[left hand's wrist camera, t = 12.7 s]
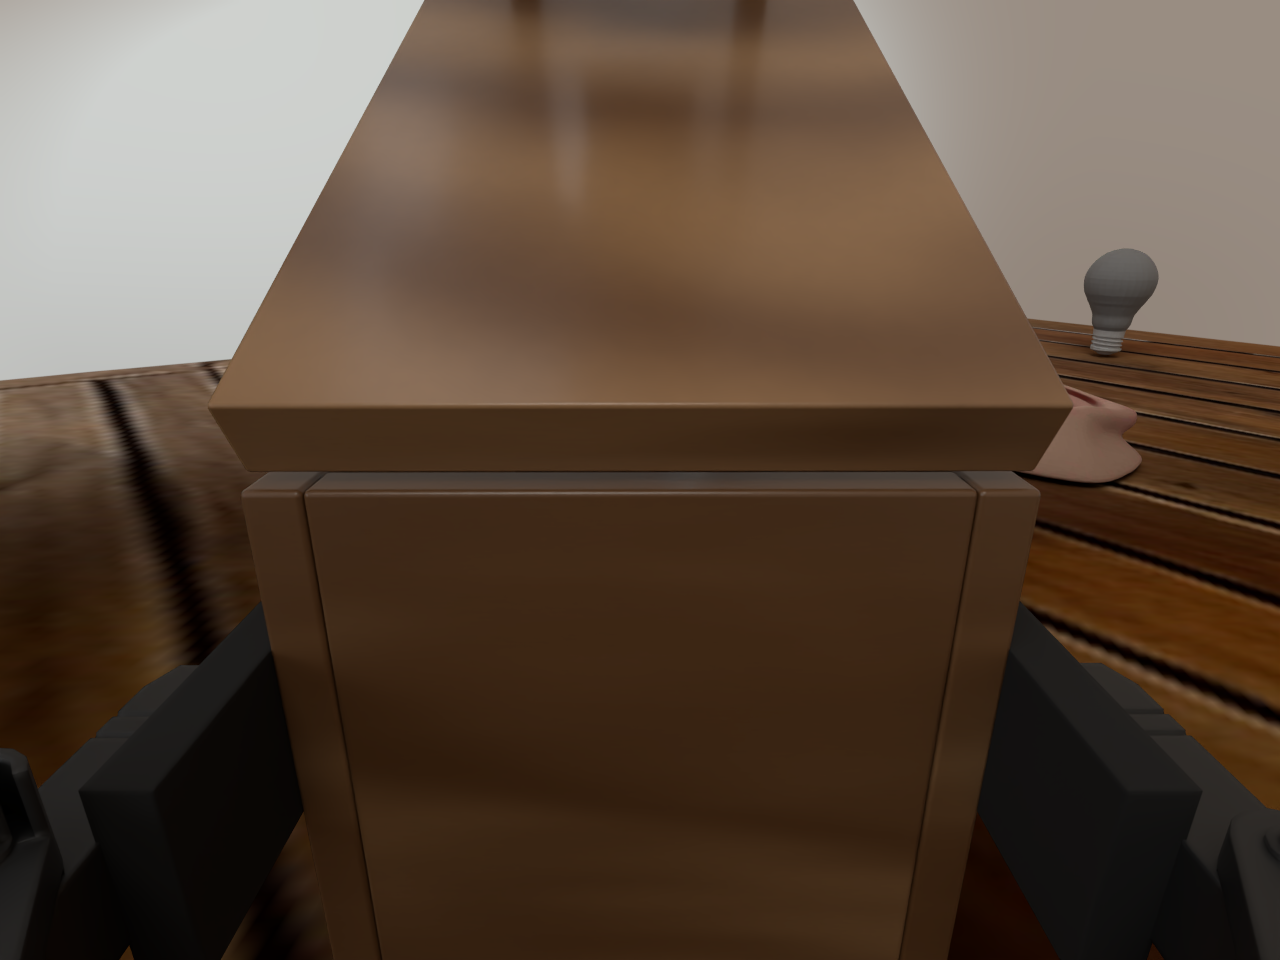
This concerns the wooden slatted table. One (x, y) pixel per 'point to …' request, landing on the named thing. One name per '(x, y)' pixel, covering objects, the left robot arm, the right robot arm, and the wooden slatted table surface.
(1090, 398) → the anatomical model
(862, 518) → the chest
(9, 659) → the wooden slatted table surface
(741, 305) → the lid
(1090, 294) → the light bulb
